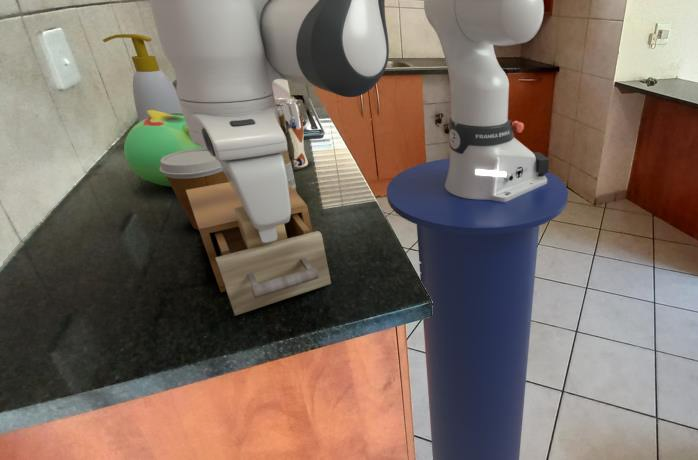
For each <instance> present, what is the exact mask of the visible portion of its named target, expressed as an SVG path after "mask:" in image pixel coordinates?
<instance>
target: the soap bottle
mask: <svg viewBox="0 0 698 460" xmlns="http://www.w3.org/2000/svg"><path fill="white" fill-rule="evenodd" d="M124 38H125V39H130V38H131V41H132V44H133V47H134V50H135V53H136V55H134V56H131V60H132V63H133V65H134V68H135V71H134V74H133V79H132V94H133V99H134V105H135V110H136V114H137V115H136V116H137V120H138V123H139V122H141V121H143V120H145V119H147V118H149V117H150V116H149V114H148V113H147V111H148V110H155V111H160V112H163V113H167V114H173V113H181V114H183V112H182V109H181V106H180V102H179V99H178V96H177V88H176V87H175V86H174V84H173V83H172V81H171V79H169V77H168V76H167V75H166V74H165V72H163V71H162V70H161V69H160V67H159V64H158V60H157V58H156V55H149V52H148V50H147V47H146V44H145V42H147V43H150V42H151V41H152V37H149V36H147V35H142V34H138V33H137V34H136V33H119V34H117V33H116V34H114V35H110V36H108V37H105V38H103V39H102V41H103V43H107V42H109V41H111V40H114V39H124Z"/></svg>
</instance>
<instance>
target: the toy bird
mask: <svg viewBox="0 0 698 460" xmlns="http://www.w3.org/2000/svg"><path fill="white" fill-rule="evenodd" d="M147 113H148V114H149V116H150V117H149V118H147V119H145V120H143V121H141V122H139V121H138V122H137V123H136V124H135V125H133V127H132V128H131V129H130V131H129V132H128V133H127V135H126V137H125V139H124V144H123V154H124V158H125V161H126V164H127V165H128V167H129V168H130V170H132V171H133V172H134V174H136V175H137V176H138V177H140V178H141V179H143V180H145V181H147V182H149V183H152V184H155V185H159V186H163V187H172V186H171V184H170V182H169V181H168V179H167V177H166V176H165V175H164V174H163V173H162V172H161V171H160V169H159V168H160V166H161V159H162V158H163V157H164V156H166V155H169V154H172V153H175V152H179V151H184V150H190V149H201V148H204V147H202V146H201V145H197V144H195V143H193V142H192V140H191V137H190V134H189V131H188V128H187V125H186V122H185V118H184V115H183V114H181V113H173V114H167V113H163V112H160V111H155V110H148V111H147Z"/></svg>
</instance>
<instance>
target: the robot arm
mask: <svg viewBox="0 0 698 460" xmlns="http://www.w3.org/2000/svg"><path fill="white" fill-rule="evenodd" d="M385 1H386V0H149V4H150V9H151V13H152V17H153V22H154V25H155V29H156V32H157V36H158V39H159V43H160V45H161V48H162V52H163V54H164V55H165V57H166V59H167V61H168V62H169V63H170V65H171V67H172V69H173V72H174V75H175V81H176V90H177V96H178V99H179V102H180V106H181V109H182V112H183V115H184V118H185V122H186V125H187V128H188V131H189V134H190V137H191V140H192V142H193V143H195V144H197V145H201V146H202V147H204V148H205V149H207V150H208V151H209V153H210V155H211V156H213V157H215V158H216V159H217V160H218V161H220V164H221V167H222V170H223V172H224V174H225V176H226V178H227V179H228V181H229V183H230V185H231V187H232V188H233V190H234V192H235V194H236V196H237V197H238V199H239V201H240V203H241V204H242V206H243V208H244V210H245V212H246V213H247V215H248V217H249V219H250V221H251V223H252V225H253V226H254V227H255V228H256V229H257V232H258V235H259V238H260V240H261V241H262V242H263V243H268V242H272V241H275V240H276V239H277V232H276V228H275V226H277V225H281V224H285V223H287V222H289V220H290V216H291V205H290V197H289V189H288V182H287V175H286V168H285V163H284V159H283V156H282V154H281V152H286V151H287V142H286V138H285V135H284V132H283V130H282V128H281V125H280V121H279V116H278V112H277V107H276V102H275V98H274V93H273V88H272V83H273V81H274V80H276V79H283V80H288V82H291V83H295V84H300V85H304V86H309V87H315V88H317V89H320V90H323V91H326V92H329V93H332V94H334V95H338V96H340V97H345V98H355V97H359V96H363V95H365V94H367V93H368V92H369V91H371V90H372V89H373V88H374V87H375V86H376V85H377V84H378V82H379V81H380V80H381V78H382V77H383V75H384V73H385V71H386V68H387V65H388V62H389V57H390V56H389V55H390V44H389V33H388V27H387V21H386V19H387V18H386V9H385V8H386V7H385V6H386V4H385ZM423 6H424V7H423V8H424V13H425V17H426V19H427V22H428V23H429V25H430V26H431V27H432V28H433V30H434V31H435V33H436V35H437V37H438V40H439V42H440V47H441V50H442V52H443V56H444V59H445V63H446V67H447V73H448V79H449V93H450V94H449V95H450V118H449V120H448V139H449V147H450V154H449V155H450V156H449V158H450V164H449V170H448V175H447V179H446V183H445V189H446V190H447V191H448V192H450V193H451V194H453V195H456V196H458V197H462V198H467V199H476V200H493V201H498V202H507V201H509V200H511V199H514V198H516V197H518V196H520V195H523V194H525V193H527V192H529V191H531V190H534V189H536V188H538V187H540V186H543V185H545V184H547V178H546V177H545V176H544V175H545V174H546V173H548V172H549V167H550V158H548V157H546V156H545V155H544V154H543V153H541V152H540V151H531V149H529V148H528V147H527V146H525V145H524V144H523V143H521V141H519V140H518V139H517V138H516V137H515V134H514V132H516V133H522V132H523V130H524V129H525V124H524V123H523V122H521V121H518V120H514V121H512V120H510V119H509V97H510V96H509V95H510V93H509V92H510V81H509V77H508V75H507V74H506V72H505V71H504V70H503V67H501V65H500V63H499V60H498V59H497V56H496V53H495V48H494V46H498V47H499V46H500V47H507V46H508V47H509V46H516V45H521V44H525V43H528V42H529V41H531V40H532V39H534V37H535V36H536V35H537V33H538V32H539V30H540V29H541V26H542V23H543V19H544V14H545V4H544V0H423Z"/></svg>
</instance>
